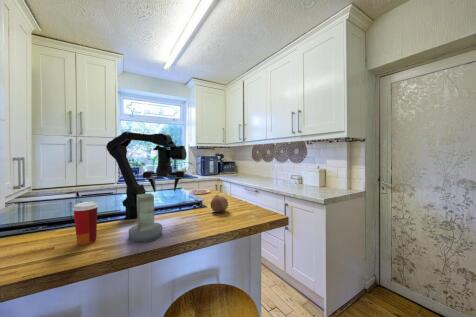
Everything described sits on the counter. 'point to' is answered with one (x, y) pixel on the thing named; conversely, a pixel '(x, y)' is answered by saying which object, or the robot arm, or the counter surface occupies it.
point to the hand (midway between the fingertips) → (164, 191)
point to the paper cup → (85, 222)
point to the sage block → (145, 211)
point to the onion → (219, 204)
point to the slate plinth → (145, 233)
